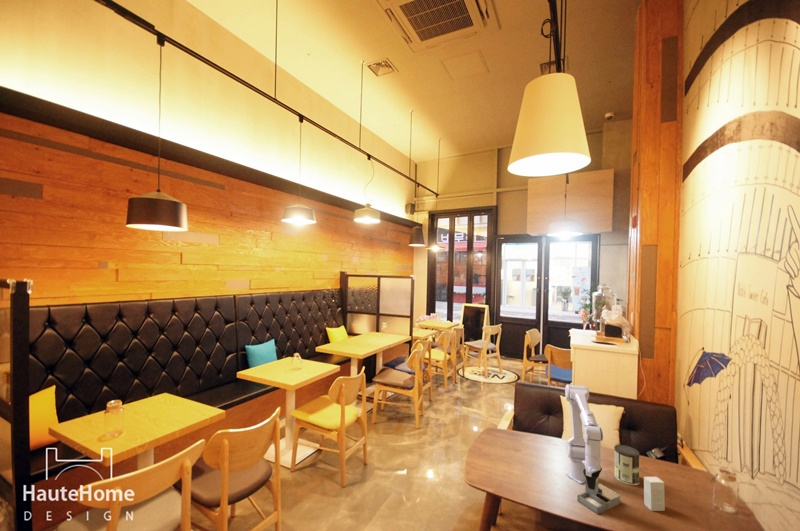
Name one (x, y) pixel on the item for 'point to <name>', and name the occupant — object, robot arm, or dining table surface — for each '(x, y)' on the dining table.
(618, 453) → the coffee can
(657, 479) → the skincare box
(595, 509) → the case
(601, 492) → the lid
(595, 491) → the block
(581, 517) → the dining table surface
